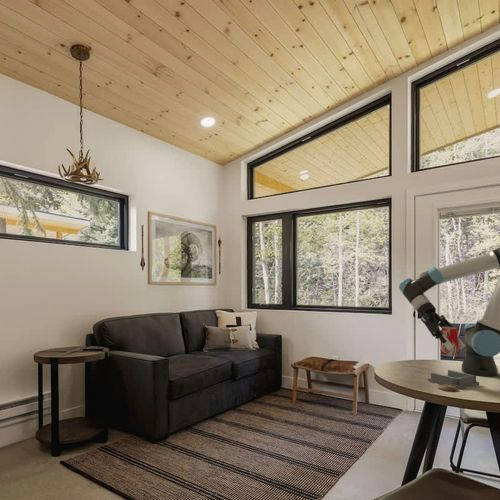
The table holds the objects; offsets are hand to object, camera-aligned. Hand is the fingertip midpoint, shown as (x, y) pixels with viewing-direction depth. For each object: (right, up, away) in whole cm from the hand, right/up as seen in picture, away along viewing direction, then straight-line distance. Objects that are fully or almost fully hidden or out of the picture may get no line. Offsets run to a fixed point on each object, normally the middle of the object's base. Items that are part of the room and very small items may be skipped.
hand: (457, 348), depth 169 cm
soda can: (-2, -4, +3) cm, 5 cm away
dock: (-1, -15, +1) cm, 15 cm away
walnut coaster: (-8, -14, -9) cm, 19 cm away
